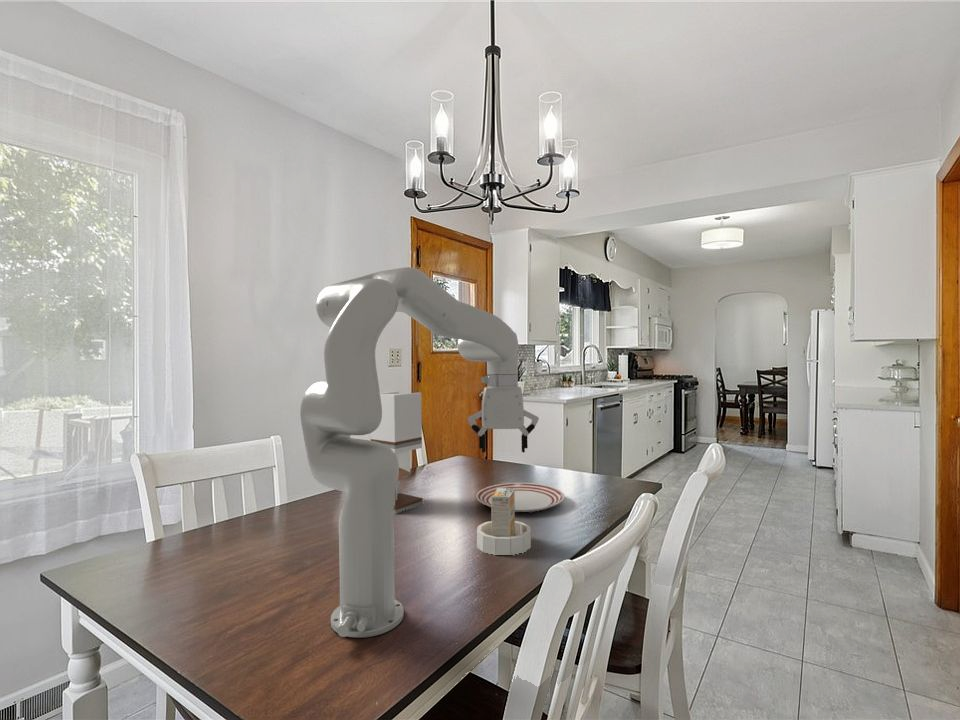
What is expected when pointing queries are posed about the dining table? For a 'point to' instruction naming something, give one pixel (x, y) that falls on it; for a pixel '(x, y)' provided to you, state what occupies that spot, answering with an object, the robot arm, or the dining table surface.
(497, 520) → the supplement box
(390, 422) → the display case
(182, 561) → the dining table surface
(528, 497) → the dinner plate
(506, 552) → the white faceted ring
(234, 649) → the dining table surface
